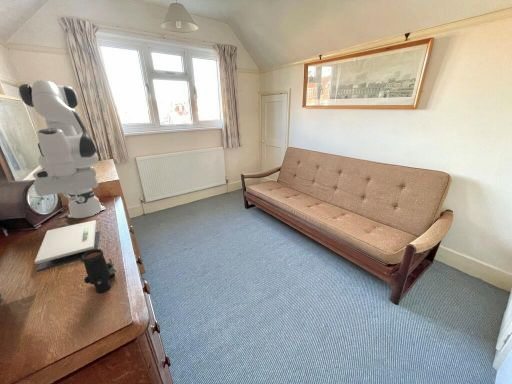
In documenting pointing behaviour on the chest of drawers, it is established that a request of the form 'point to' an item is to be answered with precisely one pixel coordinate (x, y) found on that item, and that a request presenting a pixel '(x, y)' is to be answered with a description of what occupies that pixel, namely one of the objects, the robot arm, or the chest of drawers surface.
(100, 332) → the chest of drawers surface
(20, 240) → the chest of drawers surface
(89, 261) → the scope
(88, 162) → the robot arm
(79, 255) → the stage base
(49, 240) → the panel
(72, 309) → the chest of drawers surface
